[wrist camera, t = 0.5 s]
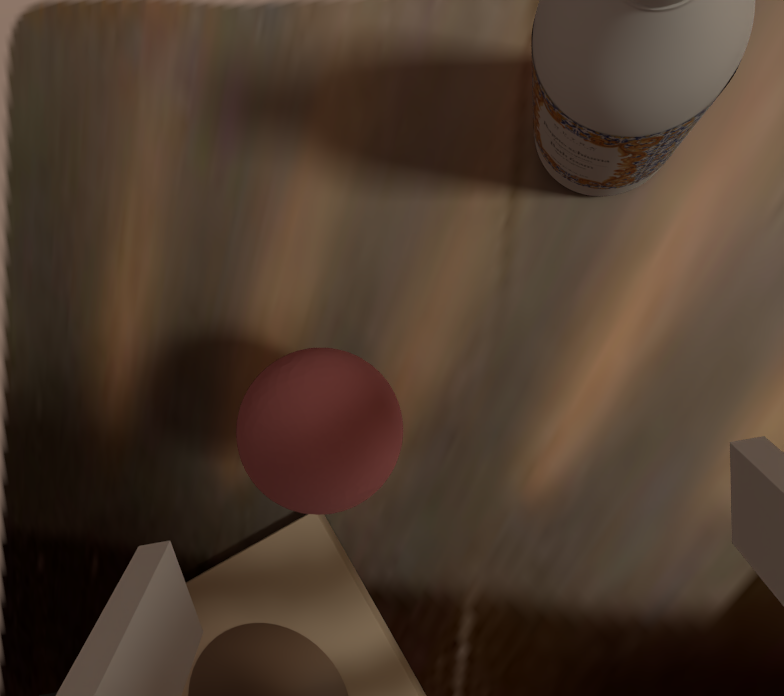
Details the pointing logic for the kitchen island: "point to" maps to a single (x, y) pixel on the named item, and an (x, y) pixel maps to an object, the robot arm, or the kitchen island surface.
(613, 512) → the kitchen island surface
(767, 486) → the robot arm
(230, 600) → the seat board
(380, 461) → the dark red bulb shape
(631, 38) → the bath foam
